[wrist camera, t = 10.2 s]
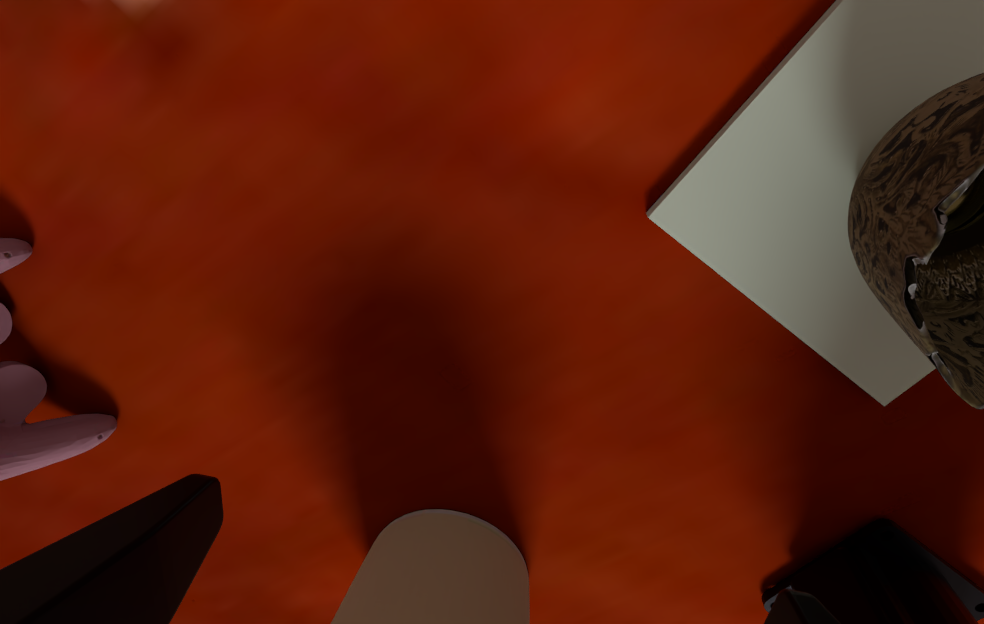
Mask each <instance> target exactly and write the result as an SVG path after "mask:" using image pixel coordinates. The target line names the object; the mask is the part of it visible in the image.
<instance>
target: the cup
mask: <svg viewBox="0 0 984 624" xmlns="http://www.w3.org/2000/svg"><path fill="white" fill-rule="evenodd" d="M848 237H849V242H850V247H851V251H852V254H853V256H854V259H855V262H856V264H857V267H858V269H859V271H860V273H861V275H862V277H863V278H864V280H865V282H866V283H867V285H868V287H869V288H870V290H871V291H872V292H873V294H874V295H875V296H876V298H877V299H878V301H879V302H880V303H881V304H882V306H883V307H884V308H885V310H886V311H887V312H888V313H889V314H890V316H891V317H892V318H893V319H894V320H895V322H896V323H897V324H898V325H899V326H900V328H901V329H902V330H903V331H904V332H905V333H906V335H907V336H908V337H909V338H910V339H911V340H912V341H913V343H914V344H915V345H916V346H917V347H918V348H919V349H920V351H921V352H922V353H923V354H924V355H925V356H926V357H927V358H928V359H929V361H930V362H931V363H932V364H933V365H934V366H935V368H936V369H937V370H938V371H939V373H940V374H941V376H942V377H943V378H944V379H945V381H946V382H947V383H948V385H949V386H950V387H951V388H952V390H953V391H954V392H955V393H956V394H957V395H958V396H960V397H961V398H962V399H963V400H964V401H966V402H967V403H968V404H969V405H971V406H972V407H974V408H976V409H983V408H984V73H981V74H978V75H976V76H973V77H971V78H968V79H966V80H963V81H961V82H959V83H957V84H954V85H952V86H950V87H948V88H946V89H944V90H942V91H940V92H939V93H937V94H935V95H933V96H932V97H930V98H928V99H927V100H925V101H924V102H923V103H921V104H920V105H918V106H917V107H915V108H914V109H913V110H911V111H910V112H909V113H908V114H907V115H905V116H904V117H903V118H902V119H901V120H899V121H898V122H897V123H896V124H895V125H894V126H893V127H892V128H891V129H890V130H889V131H888V132H887V133H886V134H885V135H884V136H883V137H882V139H881V140H880V141H879V142H878V143H877V145H876V146H875V147H874V149H873V150H872V152H871V153H870V154H869V156H868V157H867V159H866V161H865V163H864V164H863V166H862V168H861V170H860V172H859V174H858V177H857V179H856V181H855V184H854V187H853V190H852V193H851V198H850V203H849V210H848Z"/></svg>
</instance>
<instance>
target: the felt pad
mask: <svg viewBox="0 0 984 624" xmlns="http://www.w3.org/2000/svg"><path fill="white" fill-rule="evenodd" d="M981 73H984V0H836V1H835V2H834V3H833V4H832V5H831V7H830V8H829V9H828V10H827V11H826V12H825V13H824V14H823V16H822V17H821V18H820V19H819V20H818V21H817V22H816V23H815V24H814V26H813V27H812V28H811V29H810V30H809V31H808V32H807V33H806V35H805V36H804V37H803V38H802V39H801V40H800V41H799V42H798V44H797V45H796V46H795V47H794V48H793V49H792V50H791V51H790V52H789V54H788V55H787V56H786V57H785V58H784V59H783V60H782V61H781V63H780V64H779V65H778V66H777V67H776V68H775V69H774V70H773V72H772V73H771V74H770V75H769V76H768V77H767V78H766V79H765V80H764V82H763V83H762V84H761V85H760V86H759V87H758V88H757V89H756V91H755V92H754V93H753V94H752V95H751V96H750V97H749V98H748V99H747V101H746V102H745V103H744V104H743V105H742V106H741V107H740V108H739V110H738V111H737V112H736V113H735V114H734V115H733V116H732V117H731V119H730V120H729V121H728V122H727V123H726V124H725V125H724V126H723V127H722V129H721V130H720V131H719V132H718V133H717V134H716V135H715V136H714V138H713V139H712V140H711V141H710V142H709V143H708V144H707V145H706V147H705V148H704V149H703V150H702V151H701V152H700V153H699V154H698V155H697V157H696V158H695V159H694V160H693V161H692V162H691V163H690V164H689V166H688V167H687V168H686V169H685V170H684V171H683V172H682V173H681V174H680V176H679V177H678V178H677V179H676V180H675V181H674V182H673V183H672V185H671V186H670V187H669V188H668V189H667V190H666V191H665V192H664V194H663V195H662V196H661V197H660V198H659V199H658V200H657V201H656V202H655V204H654V205H653V206H652V207H651V208H650V209H649V210H648V211H647V213H646V214H647V216H648V218H649V219H651V220H652V221H653V222H654V223H656V224H657V225H658V226H659V227H661V228H662V229H663V230H664V231H666V232H667V233H668V234H669V235H671V236H672V237H673V238H674V239H676V240H677V241H678V242H679V243H681V244H682V245H683V246H684V247H686V248H687V249H688V250H689V251H691V252H692V253H693V254H694V255H696V256H697V257H698V258H699V259H701V260H702V261H703V262H704V263H706V264H707V265H708V266H709V267H711V268H712V269H713V270H714V271H716V272H717V273H718V274H719V275H721V276H722V277H723V278H724V279H726V280H727V281H728V282H729V283H731V284H732V285H733V286H734V287H736V288H737V289H738V290H739V291H741V292H742V293H743V294H744V295H746V296H747V297H748V298H749V299H751V300H752V301H753V302H754V303H756V304H757V305H758V306H759V307H761V308H762V309H763V310H764V311H766V312H767V313H768V314H769V315H771V316H772V317H773V318H774V319H776V320H777V321H778V322H779V323H781V324H782V325H783V326H784V327H786V328H787V329H788V330H789V331H791V332H792V333H793V334H794V335H796V336H797V337H798V338H799V339H801V340H802V341H803V342H804V343H806V344H807V345H808V346H809V347H811V348H812V349H813V350H814V351H816V352H817V353H818V354H819V355H821V356H822V357H823V358H824V359H826V360H827V361H828V362H829V363H831V364H832V365H833V366H834V367H836V368H837V369H838V370H839V371H841V372H842V373H843V374H844V375H846V376H847V377H848V378H849V379H851V380H852V381H853V382H854V383H856V384H857V385H858V386H859V387H861V388H862V389H863V390H864V391H866V392H867V393H868V394H869V395H871V396H872V397H873V398H874V399H876V400H877V401H878V402H879V403H881V404H882V405H883V406H886V405H887V404H888V403H890V402H891V401H892V400H894V399H895V398H896V397H898V396H899V395H901V394H902V393H903V392H905V391H906V390H907V389H909V388H910V387H911V386H913V385H914V384H915V383H917V382H918V381H919V380H921V379H922V378H923V377H925V376H926V375H927V374H929V373H930V372H931V371H933V370H934V369H936V368H935V366H934V365H933V364H932V363H931V362H930V361H929V359H928V358H927V357H926V356H925V355H924V354H923V353H922V352H921V351H920V349H919V348H918V347H917V346H916V345H915V344H914V343H913V341H912V340H911V339H910V338H909V337H908V336H907V335H906V333H905V332H904V331H903V330H902V329H901V328H900V326H899V325H898V324H897V323H896V322H895V320H894V319H893V318H892V317H891V316H890V314H889V313H888V312H887V311H886V310H885V308H884V307H883V306H882V304H881V303H880V302H879V301H878V299H877V298H876V296H875V295H874V294H873V292H872V291H871V290H870V288H869V287H868V285H867V283H866V282H865V280H864V278H863V277H862V275H861V273H860V271H859V269H858V267H857V264H856V262H855V259H854V256H853V254H852V251H851V247H850V242H849V237H848V210H849V203H850V198H851V193H852V190H853V187H854V184H855V181H856V179H857V177H858V174H859V172H860V170H861V168H862V166H863V164H864V163H865V161H866V159H867V157H868V156H869V154H870V153H871V152H872V150H873V149H874V147H875V146H876V145H877V143H878V142H879V141H880V140H881V139H882V137H883V136H884V135H885V134H886V133H887V132H888V131H889V130H890V129H891V128H892V127H893V126H894V125H895V124H896V123H897V122H898V121H899V120H901V119H902V118H903V117H904V116H905V115H907V114H908V113H909V112H910V111H911V110H913V109H914V108H915V107H917V106H918V105H920V104H921V103H923V102H924V101H925V100H927V99H928V98H930V97H932V96H933V95H935V94H937V93H939V92H940V91H942V90H944V89H946V88H948V87H950V86H952V85H954V84H957V83H959V82H961V81H963V80H966V79H968V78H971V77H973V76H976V75H978V74H981Z"/></svg>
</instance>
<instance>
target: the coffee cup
mask: <svg viewBox="0 0 984 624" xmlns="http://www.w3.org/2000/svg"><path fill="white" fill-rule="evenodd" d="M331 624H529V577H528V571H527V567H526V563H525V561H524V559H523V556H522V554H521V553H520V551H519V550H518V548H517V547H516V545H515V544H514V543H513V542H512V541H511V540H510V539H509V538H508V536H506V535H505V534H504V533H503V532H502V531H500V530H499V529H498V528H496V527H495V526H493V525H491V524H490V523H488V522H486V521H484V520H482V519H480V518H477V517H475V516H472V515H469V514H467V513H462V512H457V511H452V510H444V509H426V510H420V511H416V512H412V513H409V514H406V515H404V516H402V517H399V518H397V519H396V520H394V521H393V522H391V523H390V524H389V525H388V526H387V527H385V528H384V530H383V531H382V532H381V533H380V534H379V535H378V537H377V539H376V540H375V542H374V543H373V545H372V547H371V549H370V551H369V552H368V554H367V556H366V558H365V560H364V561H363V563H362V565H361V567H360V569H359V571H358V573H357V575H356V576H355V578H354V580H353V582H352V584H351V586H350V588H349V590H348V592H347V594H346V596H345V598H344V599H343V601H342V603H341V605H340V607H339V609H338V611H337V613H336V615H335V617H334V619H333V621H332V622H331Z"/></svg>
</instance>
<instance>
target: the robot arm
mask: <svg viewBox="0 0 984 624" xmlns="http://www.w3.org/2000/svg"><path fill="white" fill-rule="evenodd" d="M222 522H223V505H222V495H221V486H220V482H219V480H218V479H217V478H215V477H211V476H206V475H201V474H191V475H188V476H186V477H184V478H182V479H180V480H178V481H176V482H174V483H172V484H170V485H168V486H166V487H164V488H162V489H160V490H158V491H156V492H154V493H152V494H150V495H148V496H146V497H144V498H142V499H140V500H138V501H136V502H134V503H132V504H130V505H128V506H126V507H124V508H122V509H120V510H118V511H116V512H114V513H112V514H110V515H108V516H106V517H104V518H102V519H100V520H98V521H96V522H94V523H92V524H90V525H88V526H86V527H84V528H82V529H80V530H78V531H76V532H74V533H72V534H70V535H68V536H66V537H64V538H62V539H60V540H58V541H56V542H54V543H52V544H50V545H48V546H46V547H44V548H42V549H40V550H38V551H36V552H34V553H32V554H30V555H29V556H27V557H25V558H23V559H21V560H19V561H17V562H15V563H13V564H11V565H9V566H7V567H5V568H3V569H1V570H0V624H169V623H170V621H171V619H172V618H173V616H174V614H175V612H176V611H177V609H178V607H179V605H180V604H181V602H182V600H183V598H184V596H185V594H186V592H187V590H188V589H189V587H190V585H191V583H192V581H193V579H194V577H195V575H196V574H197V572H198V570H199V568H200V566H201V564H202V562H203V560H204V559H205V557H206V555H207V553H208V551H209V549H210V547H211V545H212V544H213V542H214V540H215V538H216V536H217V534H218V532H219V530H220V528H221V525H222ZM884 531H887V532H884ZM882 532H884V533H882ZM762 602H763V605H764V607H765V609H766V611H767V612H769V614H768V616H767V618H766V620H765V623H764V624H978V622H977V621H978V620H980V619H982V618H984V590H982V589H981V588H980V587H979V586H977V585H976V584H975V583H973V582H972V581H971V580H969V579H968V578H967V577H965V576H964V575H963V574H961V573H960V572H959V571H958V570H956V569H955V568H954V567H952V566H951V565H950V564H948V563H947V562H946V561H944V560H943V559H942V558H940V557H939V556H938V555H937V554H935V553H934V552H933V551H931V550H930V549H929V548H927V547H926V546H925V545H923V544H922V543H921V542H919V541H918V540H917V539H916V538H914V537H913V536H912V535H910V534H909V533H908V532H906V531H905V530H904V529H902V528H901V527H900V526H898V525H897V524H896V523H895V522H893V521H891V520H889V519H877V520H875V521H873V522H872V523H870V524H868V525H867V526H865V527H864V528H862V529H861V530H859V531H858V532H856V533H855V534H853V535H852V536H850V537H849V538H847V539H846V540H844V541H842V542H841V543H839V544H838V545H836V546H835V547H833V548H832V549H830V550H829V551H827V552H826V553H824V554H823V555H821V556H820V557H818V558H817V559H815V560H813V561H812V562H810V563H809V564H807V565H806V566H804V567H803V568H801V569H800V570H798V571H797V572H795V573H794V574H792V575H791V576H789V577H787V578H786V579H784V580H783V581H781V582H780V583H778V584H777V585H775V586H774V587H772V588H771V589H769V590H768V591H766V592H765V593H764V594H763V595H762Z"/></svg>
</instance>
